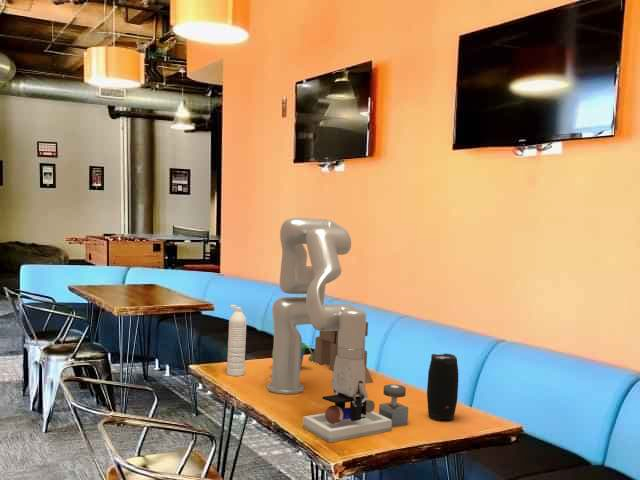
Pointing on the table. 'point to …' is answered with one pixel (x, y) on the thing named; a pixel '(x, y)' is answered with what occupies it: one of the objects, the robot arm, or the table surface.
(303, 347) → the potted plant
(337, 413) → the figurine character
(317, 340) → the brown block wall
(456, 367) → the portable speaker
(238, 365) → the water bottle
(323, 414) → the tray
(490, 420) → the table surface
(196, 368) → the table surface
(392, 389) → the gray mushroom knob
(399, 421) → the block
